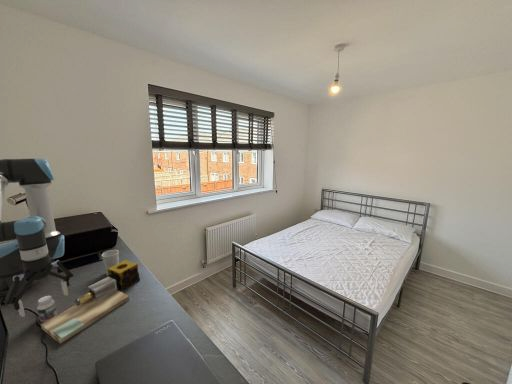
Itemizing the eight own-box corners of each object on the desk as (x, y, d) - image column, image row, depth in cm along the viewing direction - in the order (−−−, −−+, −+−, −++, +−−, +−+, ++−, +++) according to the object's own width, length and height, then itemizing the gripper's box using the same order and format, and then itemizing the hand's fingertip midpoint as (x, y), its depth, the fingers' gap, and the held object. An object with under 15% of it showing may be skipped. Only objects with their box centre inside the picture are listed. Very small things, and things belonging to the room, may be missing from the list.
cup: (112, 277, 117) (110, 257, 114) (100, 275, 118) (97, 255, 116) (124, 269, 124) (121, 250, 122) (112, 267, 126) (110, 249, 124)
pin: (75, 304, 92) (74, 298, 91) (95, 293, 99) (94, 287, 98) (79, 306, 90) (78, 300, 90) (99, 295, 97) (98, 289, 97)
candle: (140, 280, 114) (138, 263, 112) (122, 291, 105) (119, 273, 103) (128, 275, 119) (126, 259, 116) (109, 285, 110) (106, 268, 108)
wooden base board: (41, 328, 83) (37, 311, 82) (110, 290, 106) (108, 276, 105) (61, 344, 77) (57, 326, 75) (130, 299, 100) (128, 285, 98)
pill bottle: (37, 319, 87) (32, 301, 86) (52, 310, 92) (48, 293, 90) (44, 323, 86) (40, 304, 84) (60, 314, 90) (56, 296, 89)
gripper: (-10, 275, 71) (4, 329, 75) (78, 246, 93) (85, 289, 97) (-18, 270, 74) (-4, 322, 78) (69, 243, 96) (76, 284, 100)
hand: (45, 304), depth 87 cm, fingers open, 13 cm apart
